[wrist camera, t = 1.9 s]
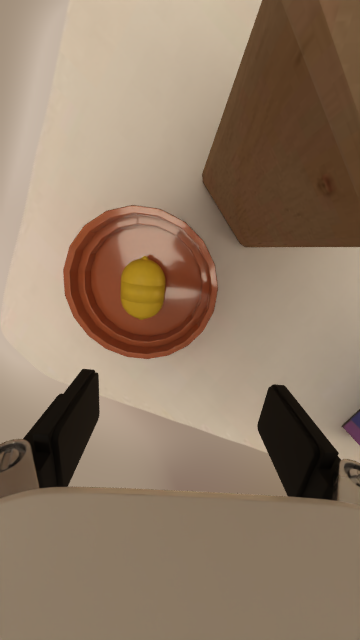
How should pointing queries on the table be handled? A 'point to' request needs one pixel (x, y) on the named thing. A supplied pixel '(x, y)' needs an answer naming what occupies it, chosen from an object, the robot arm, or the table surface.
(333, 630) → the robot arm
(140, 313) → the lemon
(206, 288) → the fruit bowl
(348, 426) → the purple book
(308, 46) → the wooden block
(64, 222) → the table surface
